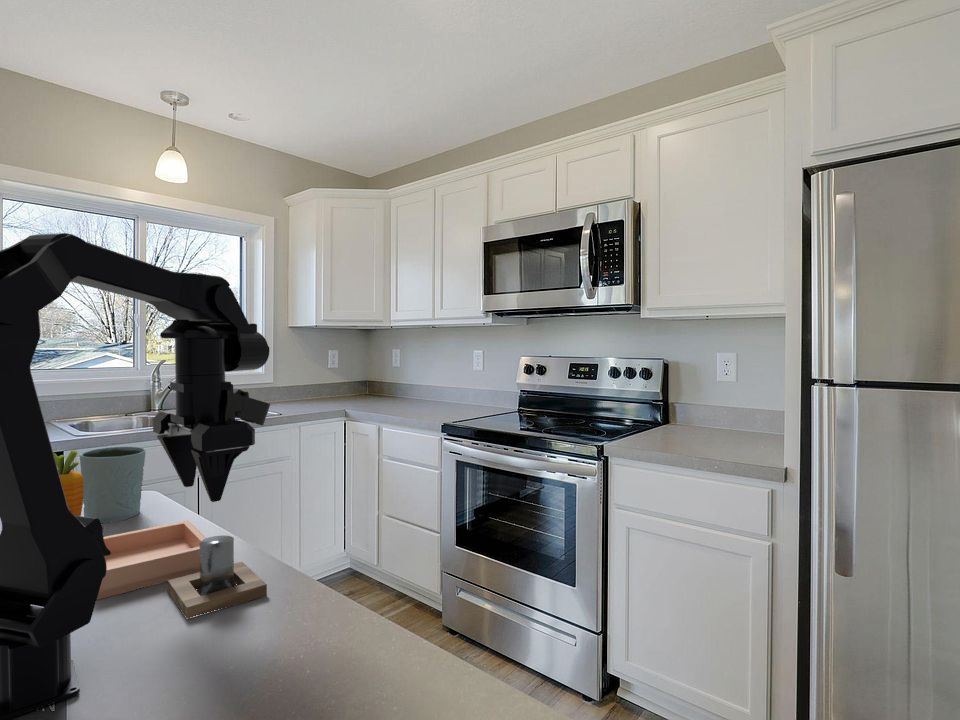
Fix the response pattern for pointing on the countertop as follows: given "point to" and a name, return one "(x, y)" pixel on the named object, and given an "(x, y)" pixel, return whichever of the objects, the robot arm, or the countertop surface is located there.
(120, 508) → the green embossed pot
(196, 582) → the walnut collar
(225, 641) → the countertop surface
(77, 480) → the carrot
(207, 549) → the gunmetal pin
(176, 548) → the terracotta tray
